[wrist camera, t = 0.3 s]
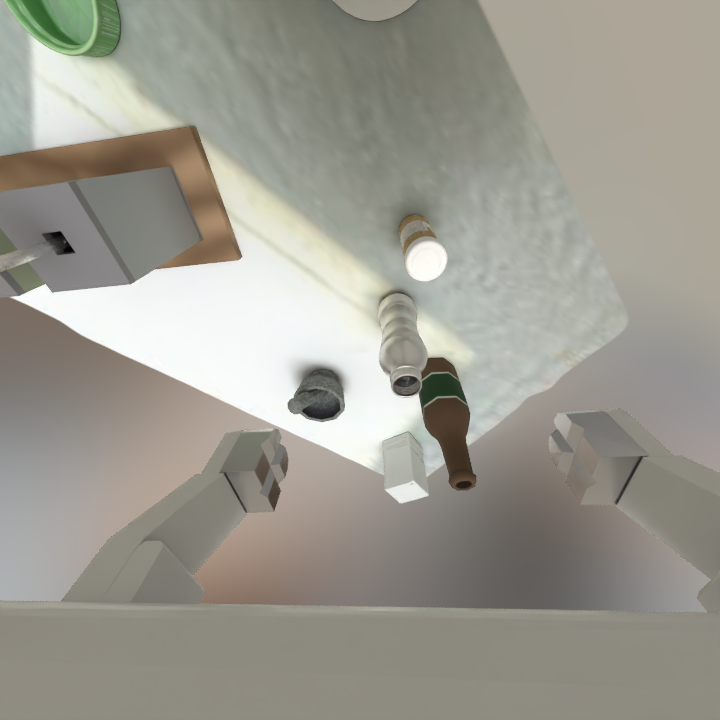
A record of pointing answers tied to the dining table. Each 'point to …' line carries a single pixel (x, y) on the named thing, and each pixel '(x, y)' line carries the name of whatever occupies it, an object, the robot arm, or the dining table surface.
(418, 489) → the supplement box
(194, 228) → the grey block
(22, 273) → the olive slotted block
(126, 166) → the walnut board
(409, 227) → the sprinkles bottle
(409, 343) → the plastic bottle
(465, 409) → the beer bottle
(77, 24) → the ramekin
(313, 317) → the dining table surface
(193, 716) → the robot arm
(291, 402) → the mortar and pestle
